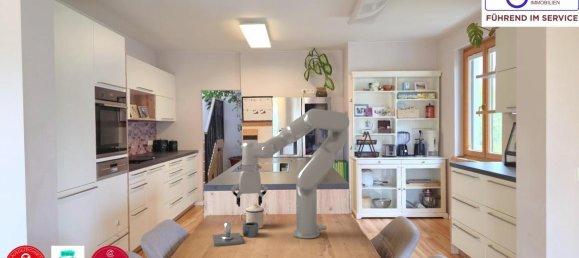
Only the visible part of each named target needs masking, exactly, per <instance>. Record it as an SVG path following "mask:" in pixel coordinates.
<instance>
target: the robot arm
mask: <svg viewBox="0 0 579 258" xmlns="http://www.w3.org/2000/svg"><path fill="white" fill-rule="evenodd" d="M349 127H350V118H349V116H348V114H346V113H344V112H340V111H333V110H327V109H320V108H311V109H309V110H307V112H305V113H304V114H302V115H300V116H299V117H298V118H296V119H295V120H293V121H291V122H289V123H288V124H287V125H286V126H284V127H283V128H282V130H280V131H279V132H278V133H276V134H274V135H273V136H271V137H270V138H269V139H267V140H266V141H263V142H255V141H245V142H243V144H242V154H241V155H242V156H241V157H242V159H241V171H239V177H238V183H237V184H236V185H233V186H232V187H231V188H230V191H231V192H232V195H234V196H235V197H236V203H235V204H236V206H237V207H241V196H242V194H244V195H245V194H247V195H248V194H257V195H258V197H257V201H258V202H257V205H258V206H260V207H262V204H263V197H264V196H265V195H266V194H267V191H268V190H269V187H268V186H267V185H265V184H263V183H262V182H261V173H260V171H259V170H262V166H261V165H259V159H271V158H272V157H273V156H274V155H275V154H277V153H279V151H281V150H283V149H284V148H285V147H287V146H289V145H291V144H293V143H295V142H297V141H299V140H300V139H302V138H303V137H305V136H307V134H309V133H310V132H312V131H313V130H315V129H320V130H321V129H322V130H328V131H329V134H328V136H327V137H326V139H325V140H324V141H323V142H322V144H320V146H319V147H318V148H317V149H316V150H315V151H314V152H313V153H312V155H311V158H310V159H309V160H308V162H307V163H306V164H305V165H304V166H302V167H301V166H300V168H298V169H297V171H296V174H295V190H296V191H295V192H296V193H295V194H296V195H295V197H296V198H295V199H296V200H295V203H296V204H295V210H296V211H295V213H296V214H295V215H296V216H295V218H296V219H295V220H296V221H295V224H296V225H295V227H296V228H295V229H294V230H293V231H292V235H293V236H294V237H296V238H299V239H317V238H318V237H320V236H321V231H326V230H328V227H327V225H322V224H317V223H318V222H317V220H318V215H317V214H318V213H317V212H318V210H317V208H318V205H317V201H318V195H317V194H318V193H317V188H318V187H317V186H318V185H319V184H320V183H321V182H322V180H323V179H324V178H325V177H326V176H327V175H328V173H329V172H331V169H332V168H333V167H334V166H335V165H334V164H335V158H336V157H337V156H338V154H339V153H340V152H341V150H343V147H345V144H346V142H347V140H348V128H349ZM262 188H263V190H262ZM236 189H238V192H236ZM261 191H262V192H261Z"/></svg>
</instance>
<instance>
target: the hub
mask: <svg viewBox="0 0 579 258" xmlns="http://www.w3.org/2000/svg"><path fill="white" fill-rule="evenodd" d="M242 236H243V237H244V238H257V236H259V229H258V223H255V222H247V223H245V222H243V223H242ZM243 237H242V238H243Z"/></svg>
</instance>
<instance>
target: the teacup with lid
mask: <svg viewBox="0 0 579 258" xmlns="http://www.w3.org/2000/svg"><path fill="white" fill-rule="evenodd" d="M264 210H265V209H264V207H262V206H259V205H258V203H253V204H252V205H251V206H249V207H247V208H246V209H245V212H241V213H240V215H239V218H240V221H241V222H243V223H247V222H255V223H258V230H259V229H262V228H264ZM243 215H246V217H245V219H243V217H242V216H243Z"/></svg>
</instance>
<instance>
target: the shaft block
mask: <svg viewBox="0 0 579 258" xmlns="http://www.w3.org/2000/svg"><path fill="white" fill-rule="evenodd" d="M223 228H224V232H223V233H221V234H213V235H212V240H213V241H212V242H213V246H214V247H221V246H222V247H223V246H232V245H243V244H244V240H243V237H242V236H241V233H240V232H233V233H232V232H231V228H232V227H231V222H230V221H226V222H224V227H223Z"/></svg>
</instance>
